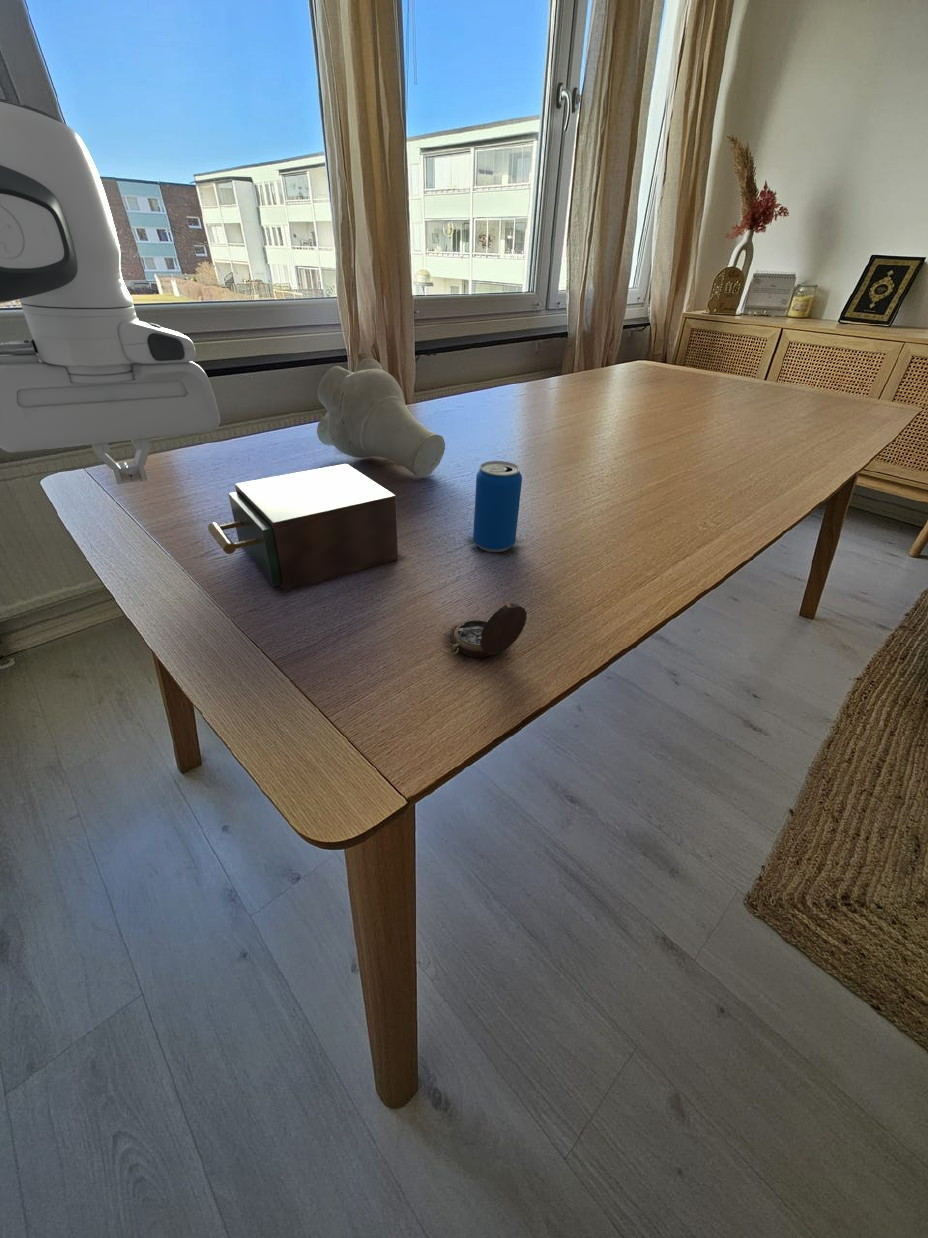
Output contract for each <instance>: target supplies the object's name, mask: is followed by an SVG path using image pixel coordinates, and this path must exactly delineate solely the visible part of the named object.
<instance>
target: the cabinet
mask: <svg viewBox="0 0 928 1238" xmlns="http://www.w3.org/2000/svg"><path fill="white" fill-rule="evenodd" d="M234 488H235V492H238V493H239V494H240V495H241V496H242V497H243V498H244V499H245V500H246V501H247V502H248V503H249V504H250V506H251V507H252V506H253V507H254V508H255V509H256V510H257V511H258V513H259V514H260V515H261V516H262V517H263V518H264V519H265V520H266V521H267V522H268V523H269V524H270V525H271V526H272V528H273V534H274V539H275V545H276V551H277V556H278V562H279V567H280V573H281V579H282V584H280V585H279V586H280V587H281V588H282V590H283V591H284V592H285V593H286V592H290V591H293V590H298V589H301V588H303V587H304V588H305V587H307V586H310V585H314V584H317V583H321V582H324V581H328V580H331V579H335V578H338V577H342V576H345V575H348V574H352V573H355V572H359V571H362V570H366V569H368V568H372V567H375V566H378V565H382V564H385V563H389V562H392V561H396V560H398V559H399V555H398V523H397V496H396V494H394V493H393V492H391V491H389V489H386V488H385V487H383V486H382V485H380V484H379V483H377V482H376V481H374V480H373V479H371V478H370V477H368V476H367V475H365V474H363V473H362V472H360V471H359V470H357V469H356V468H354V467H353V466H351V465H350V464H348V463H342V464H337V465H331V466H325V467H321V468H314V469H309V470H304V471H303V470H302V471H297V472H293V473H286V474H281V475H276V476H269V477H263V478H259V479H254V480H253V479H252V480H248V481H243V482H236V483H234Z"/></svg>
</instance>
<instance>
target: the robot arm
mask: <svg viewBox="0 0 928 1238" xmlns="http://www.w3.org/2000/svg"><path fill="white" fill-rule="evenodd" d="M120 247H121V246H120V243H119V239H118V236H117V231H116V227H115V223H114V220H113V216H112V212H111V209H110V206H109V202H108V199H107V195H106V192H105V189H104V186H103V184H102V180H101V178H100V175H99V172H98V170H97V168H96V165H95V163H94V160H93V159H92V157H91V155H90V152H89V150H88V148H87V147H86V145H85V143H84V142H83V140H82V138H81V137H80V135H79V134H78V133H77V132H75V130H73V129H72V128H71V127H70V126H69V125H67V124H66V123H65V122H63V121H62V120H60V119H58V118H56V117H55V116H53V115H51V114H49V113H47V112H45V111H42V110H40V109H37V108H35V107H32V106H29V105H26V104H20V103H17V102H13V101H11V100H8V99H3V98H0V304H5V303H9V302H13V301H17V300H19V303H20V307H21V309H22V312H23V315H24V318H25V321H26V324H27V327H28V329H29V332H30V335H31V338H32V340H28V339H27V340H7V341H1V342H0V449H2V450H3V451H5V452H7V453H11V454H12V453H22V452H31V451H41V450H49V449H60V448H61V449H62V448H69V447H79V446H89V445H91V448H92V451H93V453H94V454H95V456H97V458H98V459H100V460H101V461H102V463H104V464H105V465H106V466H107V467H108V468H109V469H110V470H111V472H112V475H113V478H114V481H115V483H116V484H117V485H123V484H130V483H138V482H147V481H148V477H147V474H146V469H145V465H146V463H147V460H148V457H149V454H150V452H151V449H152V448H151V445H150V441H149V439H154V438H155V439H157V438H166V437H175V436H184V435H194V434H204V433H214V432H216V431H217V430H218V427H219V426H220V424H221V416H220V411H219V410H220V409H219V406H218V403H217V399H216V396H215V392H214V389H213V387H212V384H211V382H210V378H209V377H208V375H207V373H206V372H205V370H204V369H203V368H202V367H201V366H200V365H199V364H197V363H195V362H194V360H195V359H196V357H197V351H196V347H195V344H194V342H193V340H191V339H190V337H188V336H187V335H184V334H183V333H181V332H179V331H175V330H172V329H169V328H165V327H163V326H161V325H159V324H157V323H154V322H149V321H147V322H145V321H143V320H139V317H138V316H137V312H136V308H135V305H134V301H133V298H132V296H131V294H130V292H129V290H128V289H127V287H126V285H125V284H126V283H125V282H124V280H123V275H122V271H121V248H120ZM127 441H130V442H131V444H132V446H133V447H134V449H135V450H136V451H135V454H134V457H133V461H128V462H119V463H117V462H116V461H115V460H114V459H113V458H112V457H111V456H110V455H109V454H110V453H111V448H110V444H109V443H119V442H127Z"/></svg>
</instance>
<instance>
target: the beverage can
mask: <svg viewBox="0 0 928 1238" xmlns="http://www.w3.org/2000/svg"><path fill="white" fill-rule="evenodd" d="M520 470H521V467H520V466H519V465H518V464H516V463H513V462H510V461H506V460H505V461H504V460H489V461H485V462H483V463H480V465H479V470H478V471H477V473H476V475H475V476H476V477H475V493H474V512H473V514H474V515H473V529H472V531H473V532H472V541H473V543H474V544H475V545H476V546H478V548H480V549H481V550H483V551H486V552H489V553H501V552H505V551H507V550H509V549H510V548H512V547H513V546H514V545H515V544H516V539H517V531H518V521H519V512H520V504H521V503H520V502H521V494H522V492H521V491H522V484H523V483H522V481H523V476H522V474H521V471H520Z"/></svg>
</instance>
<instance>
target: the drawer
mask: <svg viewBox="0 0 928 1238" xmlns="http://www.w3.org/2000/svg"><path fill="white" fill-rule="evenodd" d="M228 499H229V504H230V507H231V513H232V516H233V517H232V518H233V521H231V522H228V523H227V522H226V523H223V524H218V523H216V522H210V523H209V524H208V526H207V530H208V532H209V533H210V534H211V535H212V537H213V538H214V540H215V541H216V542H217V544H218V545H219V547H220V548H221V549H222V550H223V552H224V553H226V554H227V555H232V554H234V553H235V552H236V549H242V550H243V551H244V552H245V553H246V555H247V556H248V557H249V558H250V560H251V561H252V562H253V564H254V565H255V566H256V567H257V568H258V570H259V571H260V573H262V575H263V576H264V577H265V578H266V579H267V580H268V582H269V583H270V584H271V585H272V587H276V586H280V584H282V579H281V573H280V567H279V562H278V556H277V551H276V545H275V539H274V534H273V528H272V527H271V526H270V525H269V524H268V523H267V521H266V520H265V519H264V518H263V517H262V516H261V515H260V514H259V513H258V511H257V510H256V509H255V508H254V507H253V506H252V507H251V506H250V504H249V503H248V502H247V501H246V500H245V499H244V498H243V497H242V496H241V495H240V494H239V493H238V492H236V491H233V492H228ZM231 529H235V531H236V535H237V539H238V541H236V542H233V541H232V540H231V538H229V536H228V535H227V534H226V533H225V531H226V530H231Z"/></svg>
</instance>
